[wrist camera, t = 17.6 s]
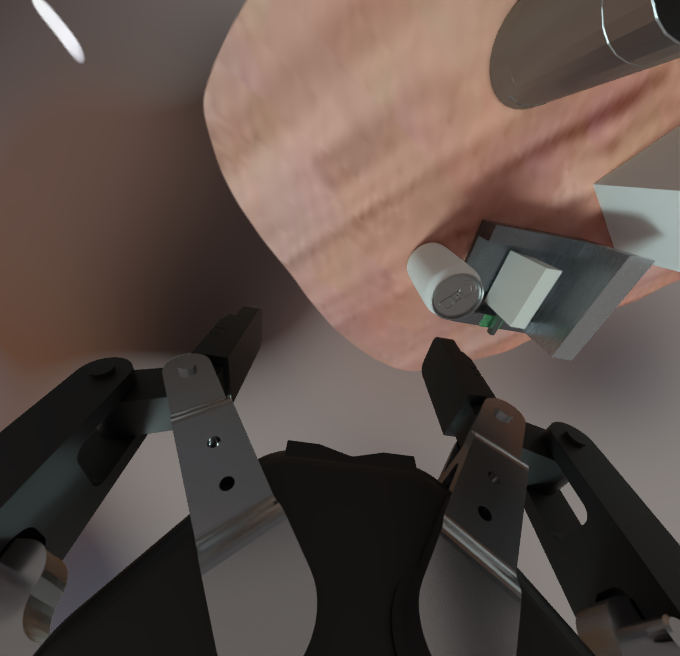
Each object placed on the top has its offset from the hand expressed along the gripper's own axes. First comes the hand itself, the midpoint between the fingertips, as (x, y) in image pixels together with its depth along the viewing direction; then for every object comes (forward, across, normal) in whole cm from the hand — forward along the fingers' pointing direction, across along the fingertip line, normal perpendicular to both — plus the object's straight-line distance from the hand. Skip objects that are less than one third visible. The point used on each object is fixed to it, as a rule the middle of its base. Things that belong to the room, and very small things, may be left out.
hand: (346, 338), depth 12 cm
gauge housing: (+28, -25, +3) cm, 38 cm away
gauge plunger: (+27, -24, +5) cm, 36 cm away
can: (+28, -13, +3) cm, 31 cm away
